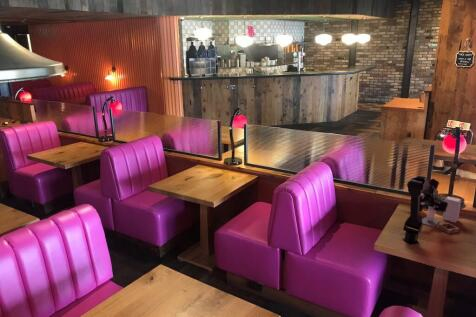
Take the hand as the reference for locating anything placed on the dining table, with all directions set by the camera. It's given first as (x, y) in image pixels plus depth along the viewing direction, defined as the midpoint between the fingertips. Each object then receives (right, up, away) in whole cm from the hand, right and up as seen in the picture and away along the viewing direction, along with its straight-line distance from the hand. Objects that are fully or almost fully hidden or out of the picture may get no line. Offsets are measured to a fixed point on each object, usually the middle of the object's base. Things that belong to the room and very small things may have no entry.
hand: (432, 209), depth 254 cm
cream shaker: (-1, -7, +1) cm, 7 cm away
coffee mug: (-1, -4, +19) cm, 19 cm away
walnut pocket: (+6, -12, -8) cm, 16 cm away
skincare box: (+14, -8, +6) cm, 17 cm away
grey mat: (-1, -9, +2) cm, 9 cm away
